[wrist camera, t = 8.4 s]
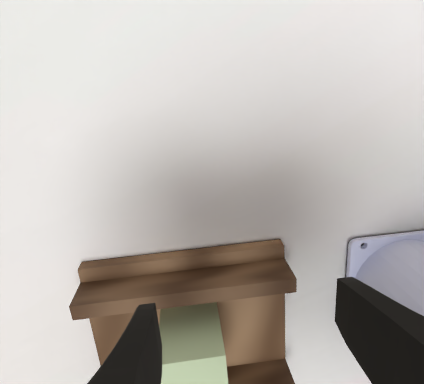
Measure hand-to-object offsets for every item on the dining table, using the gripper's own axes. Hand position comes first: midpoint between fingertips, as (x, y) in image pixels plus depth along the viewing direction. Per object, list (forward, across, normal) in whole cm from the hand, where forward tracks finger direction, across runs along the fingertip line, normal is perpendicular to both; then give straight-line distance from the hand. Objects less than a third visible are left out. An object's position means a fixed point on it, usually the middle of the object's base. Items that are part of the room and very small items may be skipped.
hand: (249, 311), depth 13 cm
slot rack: (+10, +3, +13) cm, 17 cm away
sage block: (+9, +3, +8) cm, 13 cm away
